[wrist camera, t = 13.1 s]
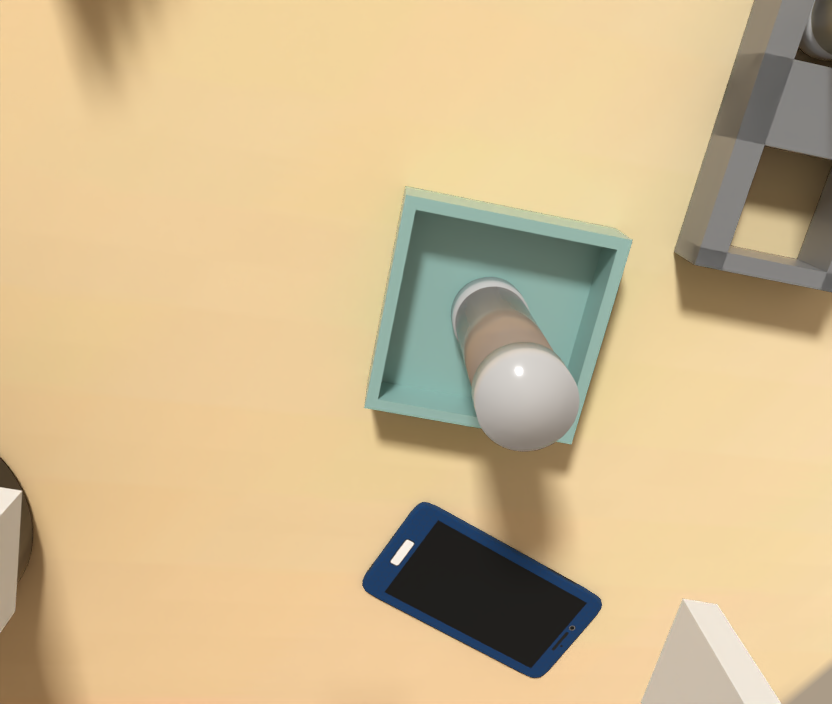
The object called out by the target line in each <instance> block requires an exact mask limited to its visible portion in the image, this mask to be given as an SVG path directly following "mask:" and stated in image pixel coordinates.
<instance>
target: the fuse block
mask: <svg viewBox="0 0 832 704" xmlns="http://www.w3.org/2000/svg"><path fill="white" fill-rule="evenodd" d="M813 3H814V0H754V3H753V6H752V9H751V13H750V16H749V19H748V22H747V25H746V28H745V31H744V34H743V38H742V41H741V44H740V47H739V50H738V53H737V56H736V59H735V63H734V66H733V69H732V72H731V75H730V78H729V81H728V84H727V88H726V91H725V94H724V97H723V100H722V103H721V106H720V109H719V113H718V116H717V119H716V122H715V125H714V128H713V131H712V134H711V138H710V141H709V144H708V147H707V150H706V153H705V156H704V159H703V163H702V166H701V169H700V172H699V175H698V178H697V181H696V184H695V188H694V191H693V194H692V197H691V200H690V203H689V206H688V209H687V213H686V216H685V219H684V222H683V225H682V228H681V231H680V234H679V237H678V241H677V244H676V247H675V250H674V252H675V253H676V254H678V255H680V256H681V257H683V258H684V259H686V260H688V261H689V262H691V263H692V264H694V265H698V266H703V267H708V268H713V269H718V270H723V271H728V272H733V273H738V274H743V275H748V276H753V277H758V278H763V279H768V280H773V281H778V282H783V283H788V284H793V285H798V286H803V287H808V288H813V289H818V290H823V291H828V292H832V168H831V170H830V173H829V176H828V178H827V181H826V184H825V186H824V189H823V192H822V194H821V197H820V200H819V202H818V205H817V208H816V210H815V213H814V215H813V218H812V221H811V223H810V226H809V229H808V231H807V234H806V237H805V239H804V242H803V245H802V247H801V250H800V253H799V255H798V258H797V259H794V258H789V257H784V256H779V255H774V254H769V253H764V252H759V251H754V250H749V249H744V248H739V247H734V246H730V244H731V241H732V238H733V236H734V233H735V230H736V227H737V224H738V221H739V218H740V215H741V212H742V209H743V207H744V204H745V201H746V198H747V195H748V192H749V189H750V186H751V183H752V180H753V177H754V175H755V172H756V169H757V166H758V163H759V160H760V157H761V154H762V151H763V148H764V146H767V147H772V148H776V149H781V150H786V151H790V152H795V153H800V154H804V155H809V156H814V157H818V158H823V159H828V160H832V68H830V67H826V66H822V65H817V64H813V63H808V62H804V61H799V60H795V59H794V58H795V56H796V53H797V50H798V47H799V44H800V41H801V38H802V35H803V32H804V29H805V27H806V24H807V21H808V18H809V15H810V12H811V9H812V6H813Z"/></svg>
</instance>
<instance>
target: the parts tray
mask: <svg viewBox="0 0 832 704" xmlns="http://www.w3.org/2000/svg"><path fill="white" fill-rule="evenodd" d="M632 241H633V240H632V239H630V238H629V237H627V236H626V235H624V234H623V233H621V232H620V231H619V230H617V229H616V228H611V227H606V226H601V225H596V224H591V223H586V222H581V221H576V220H571V219H566V218H561V217H556V216H551V215H546V214H542V213H537V212H532V211H527V210H522V209H517V208H512V207H507V206H502V205H497V204H492V203H487V202H482V201H477V200H472V199H467V198H462V197H457V196H452V195H447V194H442V193H437V192H432V191H427V190H422V189H417V188H413V187H408V186H405V191H404V197H403V202H402V207H401V212H400V217H399V223H398V228H397V233H396V238H395V243H394V248H393V254H392V259H391V264H390V269H389V274H388V280H387V285H386V290H385V295H384V300H383V305H382V311H381V316H380V321H379V326H378V331H377V337H376V342H375V347H374V352H373V357H372V362H371V368H370V373H369V378H368V383H367V390H366V399H365V407H364V408H368V409H373V410H379V411H385V412H390V413H396V414H402V415H407V416H413V417H419V418H424V419H430V420H436V421H442V422H447V423H453V424H459V425H464V426H470V427H476V428H481V426H480V424H479V422H478V418H477V415H476V411H475V407H474V404H473V400H472V393H471V383H470V380H469V376H468V373H467V369H466V365H465V362H464V358H463V354H462V351H461V347H460V344H459V342H458V340H457V338H456V336H455V333H454V329H453V325H452V321H451V307H452V303H453V301H454V298H455V296H456V295H457V293H458V292H459V291H460V290H461V289H462V288H463V287H464V286H465V285H466V284H468V283H469V282H471V281H473V280H475V279H478V278H482V277H497V278H501V279H504V280H506V281H508V282H510V283H511V284H512V285H514V286H515V287H516V288H517V289H518V291H519V292H520V293H521V295H522V297H523V298H524V300H525V302H526V303H527V305H528V308H529V311H530V313H531V315H532V317H533V318H534V320H535V322H536V323H537V325H538V326H539V328H540V330H541V331H542V333H543V335H544V336H545V338H546V340H547V341H548V343H549V344H550V346H551V348H552V349H553V351H554V352H555V353H556V354H557V355H558V356H559V357H560V358H561V360H562V361H563V362H564V364H565V366H566V367H567V369H568V370H569V372H570V374H571V375H572V377H573V379H574V380H575V382H576V385H577V387H578V391H579V400H580V401H579V409H578V414H577V416H576V419H575V421H574V423H573V425H572V426H571V428H570V429H569V430H568V431H567V433H566V434H565V435H564V436H563V437H561V438H560V439H559V440H558V441H556V442H561V443H567V444H572V441H573V437H574V434H575V431H576V427H577V424H578V421H579V417H580V414H581V411H582V407H583V404H584V401H585V397H586V394H587V391H588V387H589V384H590V381H591V377H592V374H593V371H594V367H595V364H596V361H597V357H598V354H599V351H600V347H601V344H602V341H603V337H604V334H605V331H606V327H607V324H608V321H609V317H610V314H611V311H612V307H613V304H614V301H615V297H616V294H617V291H618V287H619V284H620V281H621V277H622V274H623V271H624V267H625V264H626V261H627V257H628V254H629V251H630V247H631V244H632ZM481 429H482V428H481Z"/></svg>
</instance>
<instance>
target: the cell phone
mask: <svg viewBox="0 0 832 704" xmlns="http://www.w3.org/2000/svg"><path fill="white" fill-rule="evenodd" d="M362 586H363V588H364V589H365V591H366V592H368V593H370V594H371V595H373V596H374V597H376V598H378V599H380V600H382V601H384V602H386V603H388V604H390V605H391V606H393V607H395V608H397V609H399V610H401V611H403V612H405V613H407V614H409V615H411V616H413V617H415V618H417V619H418V620H420V621H422V622H424V623H426V624H428V625H430V626H432V627H434V628H436V629H438V630H440V631H442V632H444V633H445V634H447V635H449V636H451V637H453V638H455V639H457V640H459V641H461V642H463V643H465V644H467V645H469V646H471V647H472V648H474V649H476V650H478V651H480V652H482V653H484V654H486V655H488V656H490V657H492V658H494V659H496V660H498V661H500V662H501V663H503V664H505V665H507V666H509V667H511V668H513V669H515V670H517V671H519V672H521V673H523V674H525V675H527V676H530V677H532V678H537V677H541V676H543V675H544V674H545V673H546V672H548V671H549V669H550V668H551V667H552V666H553V665H554V664H555V663H556V661H557V660H558V659H559V658H560V657H561V656H562V654H563V653H564V652H565V651H566V650H567V649H568V648H569V646H570V645H571V644H572V643H573V642H574V641H575V639H576V638H577V637H578V636H579V635H580V634H581V633H582V631H583V630H584V629H585V628H586V627H587V626H588V624H589V623H590V622H591V621H592V620H593V619H594V618H595V616H596V615H597V614H598V612H599V611H600V609H601V606H602V603H601V599H600V598H599V597H598V596H596V595H595V594H593V593H592V592H590V591H589V590H587V589H586V588H584V587H582V586H580V585H579V584H577V583H575V582H573V581H571V580H570V579H568V578H566V577H564V576H562V575H561V574H559V573H557V572H555V571H553V570H552V569H550V568H548V567H546V566H544V565H542V564H541V563H539V562H537V561H535V560H533V559H532V558H530V557H528V556H526V555H524V554H523V553H521V552H519V551H517V550H515V549H514V548H512V547H510V546H508V545H506V544H505V543H503V542H501V541H499V540H497V539H495V538H494V537H492V536H490V535H488V534H486V533H485V532H483V531H481V530H479V529H477V528H476V527H474V526H472V525H470V524H468V523H467V522H465V521H463V520H461V519H459V518H458V517H456V516H454V515H452V514H450V513H449V512H447V511H445V510H443V509H441V508H439V507H437V506H435V505H433V504H430V503H427V502H422V503H420V504H418V505H417V506H416V507H415V508H414V509H413V510H412V511H411V513H410V514H409V515H408V517H407V518H406V519H405V521H404V522H403V523H402V525H401V526H400V528H399V529H398V530H397V532H396V533H395V534H394V536H393V537H392V538H391V540H390V541H389V543H388V544H387V545H386V547H385V548H384V549H383V551H382V552H381V554H380V555H379V556H378V558H377V559H376V560H375V562H374V563H373V564H372V566H371V567H370V569H369V570H368V571H367V573H366V575H365V577H364V579H363V585H362Z"/></svg>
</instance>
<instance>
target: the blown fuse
mask: <svg viewBox="0 0 832 704" xmlns="http://www.w3.org/2000/svg"><path fill="white" fill-rule="evenodd" d="M451 321H452V325H453V329H454V333H455V336H456V338H457V340H458V342H459V344H460V347H461V351H462V354H463V358H464V362H465V365H466V369H467V373H468V376H469V380H470V383H471V393H472V400H473V404H474V407H475V411H476V415H477V418H478V422H479V424H480V426H481V428H482V430H483V431H484V433H485V434H486V435H487V436H488V437H489V438H490V439H491V440H492V441H494V442H495V443H496V444H498V445H500V446H502V447H504V448H507V449H510V450H515V451H533V450H538V449H542V448H544V447H547V446H549V445H551V444H553V443H555V442H556V441H558V440H559V439H560V438H561V437H563V436H564V435H565V434H566V433H567V431H568V430H569V429H570V428H571V426H572V425H573V423H574V421H575V419H576V416H577V414H578V409H579V401H580V400H579V391H578V387H577V385H576V382H575V380H574V379H573V377H572V375H571V374H570V372H569V370H568V369H567V367H566V366H565V364H564V362H563V361H562V360H561V358H560V357H559V356H558V355H557V354H556V353H555V352H554V351H553V349H552V348H551V346H550V344H549V343H548V341H547V340H546V338H545V336H544V335H543V333H542V331H541V330H540V328H539V326H538V325H537V323H536V322H535V320H534V318H533V317H532V315H531V313H530V311H529V308H528V305H527V303H526V302H525V300H524V298H523V297H522V295H521V293H520V292H519V291H518V289H517V288H516V287H515V286H514V285H512V284H511V283H510V282H508V281H506V280H504V279H501V278H497V277H482V278H478V279H475V280H473V281H471V282H469V283H468V284H466V285H465V286H464V287H463V288H462V289H461V290H460V291H459V292H458V293H457V295H456V296H455V298H454V301H453V303H452V307H451Z"/></svg>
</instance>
